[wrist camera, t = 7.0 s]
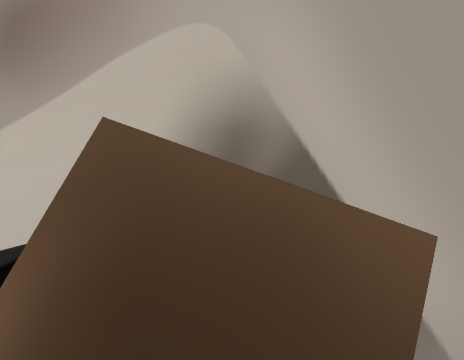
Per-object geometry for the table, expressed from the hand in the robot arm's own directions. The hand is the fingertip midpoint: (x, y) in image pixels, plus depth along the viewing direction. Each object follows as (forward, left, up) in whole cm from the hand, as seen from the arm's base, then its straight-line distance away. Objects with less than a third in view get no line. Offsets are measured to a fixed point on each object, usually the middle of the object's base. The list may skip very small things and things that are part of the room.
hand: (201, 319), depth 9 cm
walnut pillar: (0, 0, -8) cm, 8 cm away
